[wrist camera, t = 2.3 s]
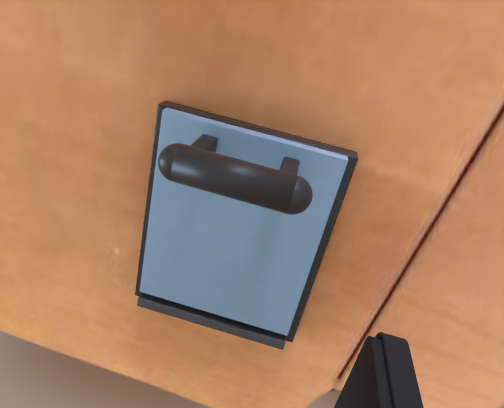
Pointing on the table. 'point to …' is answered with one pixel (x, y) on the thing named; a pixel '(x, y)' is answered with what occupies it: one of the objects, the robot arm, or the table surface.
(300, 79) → the table surface
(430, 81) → the table surface
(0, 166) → the table surface
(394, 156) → the table surface
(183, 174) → the handled blue panel
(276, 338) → the dark rectangular box base
